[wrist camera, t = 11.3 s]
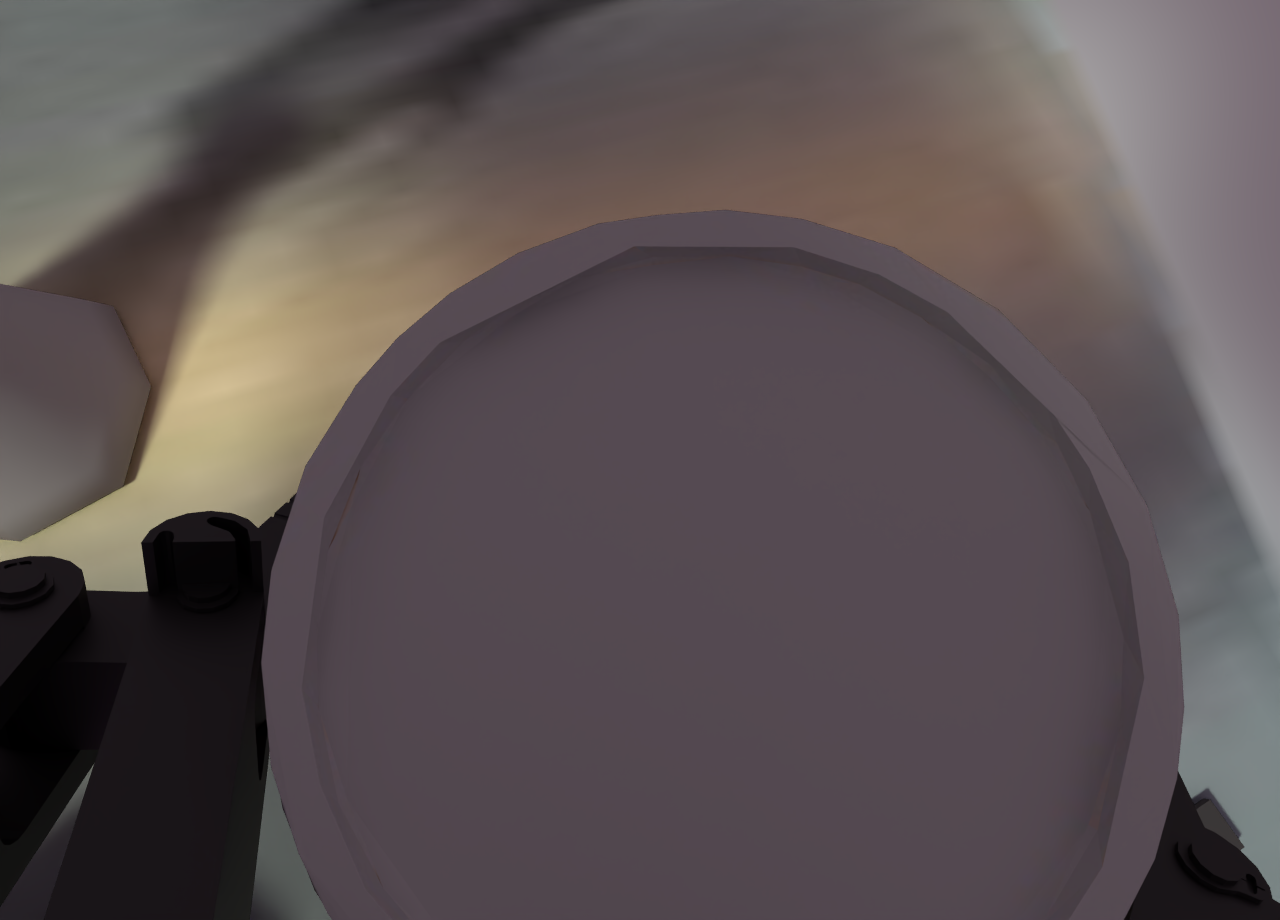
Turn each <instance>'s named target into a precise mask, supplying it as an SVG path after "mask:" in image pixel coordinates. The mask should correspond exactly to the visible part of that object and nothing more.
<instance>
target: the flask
mask: <svg viewBox="0 0 1280 920" xmlns="http://www.w3.org/2000/svg"><path fill="white" fill-rule="evenodd" d="M150 389H151V385H150V383H149V381H148V379H147V376H146V374H145V372H144V370H143V368H142V366H141V364H140V362H139V359H138V357H137V355H136V353H135V351H134V349H133V347H132V345H131V343H130V340H129V338H128V336H127V334H126V332H125V330H124V328H123V326H122V323H121V321H120V319H119V317H118V315H117V313H116V311H115V309H114V306H111V305H106V304H102V303H97V302H93V301H88V300H84V299H78V298H73V297H68V296H62V295H57V294H52V293H46V292H41V291H35V290H30V289H25V288H19V287H14V286H9V285H3V284H0V539H3V540H13V541H22V540H24V539H26V538H28V537H29V536H31V535H33V534H35V533H37V532H39V531H41V530H42V529H44V528H46V527H48V526H50V525H52V524H54V523H56V522H57V521H59V520H61V519H63V518H65V517H67V516H69V515H70V514H72V513H74V512H76V511H78V510H80V509H82V508H83V507H85V506H87V505H89V504H91V503H93V502H95V501H97V500H98V499H100V498H102V497H104V496H106V495H108V494H110V493H111V492H113V491H115V490H117V489H119V488H121V487H123V485H124V482H125V478H126V474H127V471H128V467H129V464H130V460H131V457H132V453H133V449H134V446H135V442H136V439H137V435H138V432H139V428H140V424H141V421H142V417H143V414H144V410H145V407H146V403H147V399H148V396H149V392H150Z"/></svg>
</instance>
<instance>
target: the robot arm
mask: <svg viewBox="0 0 1280 920" xmlns="http://www.w3.org/2000/svg"><path fill="white" fill-rule="evenodd" d="M296 494H297V493H296ZM296 494H295V495H294V496H293V497H292V498H291V499H290V502H289V503H287V502H286V503H285V504H284V505H283V506H282V507H281V508H280V509H279V510H277V511H276V512H275V515H274V517H270V518H269V519H268V520H267V521H265V522H264V523H263V524H262V525H261V526H260V527H259V528H257V527H256V526H255V525H254V524H253V523H252V522H251V521H250V520H248V519H246V518H243V517H241V516H238V515H235V514H232V513H225V512H215V511H206V512H197V513H188V514H184V515H181V516H178V517H175V518H172V519H168V520H166V521H164V522H163V523H161V524H160V525H158V526H156V527H155V528H153V529H151V530H150V531H149V533H148V534H147V535H146V537H145V538H144V540H143V541H142V542H141V544H142V551H143V558H144V565H145V573H146V580H147V587H148V592H120V591H89V590H86V586H85V581H84V576H83V572H82V570H81V569H80V568H79V567H77V566H76V565H75V564H73V563H72V562H71V561H67V560H63V559H60V558H56V557H52V556H28V557H23V558H17V559H12V560H7V561H3V562H0V907H1V905H2V903H3V902H4V900H5V899H6V897H7V896H8V894H9V893H10V891H11V890H12V888H13V887H14V885H15V884H16V882H17V881H18V879H19V877H20V876H21V874H22V873H23V871H24V870H25V868H26V867H27V865H28V864H29V862H30V861H31V859H32V858H33V856H34V854H35V853H36V851H37V850H38V848H39V847H40V845H41V844H42V842H43V841H44V839H45V838H46V836H47V835H48V833H49V831H50V830H51V828H52V827H53V825H54V824H55V822H56V821H57V819H58V818H59V816H60V815H61V813H62V812H63V810H64V808H65V807H66V805H67V804H68V802H69V801H70V799H71V798H72V796H73V795H74V793H75V792H76V790H77V789H78V787H79V786H80V784H81V782H82V781H83V779H84V778H85V776H86V775H87V773H88V772H89V770H90V769H91V767H92V766H93V764H94V767H93V770H92V773H91V776H90V779H89V782H88V785H87V788H86V791H85V794H84V797H83V801H82V804H81V807H80V810H79V813H78V816H77V819H76V822H75V825H74V828H73V831H72V835H71V838H70V841H69V844H68V847H67V850H66V853H65V856H64V859H63V862H62V865H61V868H60V872H59V875H58V878H57V881H56V884H55V887H54V890H53V893H52V896H51V899H50V902H49V906H48V909H47V912H46V915H45V918H44V920H250V913H251V904H252V896H253V887H254V879H255V870H256V862H257V853H258V845H259V836H260V828H261V819H262V811H263V802H264V794H265V785H266V777H267V768H268V760H269V751H270V749H269V738H268V728H267V719H266V707H265V696H264V686H263V675H262V665H261V661H262V652H263V643H264V634H265V624H266V615H267V606H268V597H269V588H270V579H271V570H272V567H273V564H274V561H275V558H276V555H277V552H278V549H279V546H280V543H281V539H282V536H283V533H284V530H285V527H286V524H287V521H288V518H289V515H290V512H291V509H292V506H293V503H294V500H295V497H296ZM1124 920H1280V903H1278V902H1277V901H1275V900H1273V899H1272V895H1271V890H1270V887H1269V885H1268V884H1267V882H1266V881H1265V879H1264V878H1263V876H1262V874H1261V873H1260V871H1259V870H1258V868H1257V867H1256V866H1255V865H1254V864H1253V863H1252V862H1251V861H1250V860H1249V859H1248V858H1247V857H1246V856H1245V855H1244V854H1243V853H1242V852H1241V851H1240V850H1239V849H1238V848H1237V847H1236V846H1234V845H1233V844H1231V843H1230V842H1228V841H1227V840H1225V839H1224V838H1223V837H1221V836H1220V835H1218V834H1217V833H1215V832H1213V831H1211V830H1209V829H1207V828H1205V827H1204V825H1203V823H1202V821H1201V818H1200V816H1199V814H1198V812H1197V810H1196V808H1195V806H1194V804H1193V802H1192V799H1191V797H1190V795H1189V793H1188V791H1187V789H1186V787H1185V785H1184V783H1183V780H1182V778H1181V776H1180V774H1179V772H1178V774H1177V780H1176V784H1175V788H1174V791H1173V795H1172V799H1171V802H1170V806H1169V809H1168V813H1167V817H1166V820H1165V824H1164V828H1163V831H1162V835H1161V839H1160V842H1159V846H1158V850H1157V853H1156V857H1155V860H1154V862H1153V864H1152V866H1151V868H1150V870H1149V872H1148V874H1147V876H1146V878H1145V879H1144V881H1143V883H1142V885H1141V887H1140V889H1139V891H1138V893H1137V895H1136V897H1135V899H1134V901H1133V903H1132V905H1131V907H1130V909H1129V911H1128V913H1127V914H1126V916H1125V918H1124Z"/></svg>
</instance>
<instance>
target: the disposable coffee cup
mask: <svg viewBox="0 0 1280 920" xmlns="http://www.w3.org/2000/svg"><path fill="white" fill-rule="evenodd" d="M261 665H262V675H263V686H264V696H265V707H266V719H267V728H268V738H269V749H270V759H271V768H272V771H273V774H274V777H275V781H276V784H277V787H278V790H279V793H280V796H281V802H282V807H283V810H284V813H285V815H286V818H287V821H288V823H289V826H290V828H291V831H292V834H293V837H294V840H295V843H296V846H297V850H298V853H299V855H300V857H301V859H302V861H303V863H304V865H305V867H306V869H307V872H308V874H309V877H310V879H311V882H312V884H313V887H314V890H315V891H316V893H317V895H318V896H319V898H320V899H321V901H322V903H323V905H324V907H325V909H326V911H327V913H328V914H329V916H330V917H331V919H332V920H1124V918H1125V916H1126V914H1127V913H1128V911H1129V909H1130V907H1131V905H1132V903H1133V901H1134V899H1135V897H1136V895H1137V893H1138V891H1139V889H1140V887H1141V885H1142V883H1143V881H1144V879H1145V878H1146V876H1147V874H1148V872H1149V870H1150V868H1151V866H1152V864H1153V862H1154V860H1155V857H1156V853H1157V850H1158V846H1159V842H1160V839H1161V835H1162V831H1163V828H1164V824H1165V820H1166V817H1167V813H1168V809H1169V806H1170V802H1171V799H1172V795H1173V791H1174V788H1175V784H1176V780H1177V774H1178V763H1179V753H1180V743H1181V733H1182V723H1183V713H1184V697H1183V681H1182V664H1181V647H1180V631H1179V614H1178V611H1177V608H1176V604H1175V601H1174V597H1173V594H1172V590H1171V587H1170V583H1169V580H1168V576H1167V573H1166V569H1165V566H1164V562H1163V559H1162V556H1161V552H1160V549H1159V545H1158V542H1157V538H1156V535H1155V531H1154V528H1153V524H1152V521H1151V517H1150V514H1149V510H1148V507H1147V504H1146V503H1145V501H1144V499H1143V497H1142V496H1141V494H1140V492H1139V490H1138V489H1137V487H1136V485H1135V483H1134V481H1133V480H1132V478H1131V476H1130V474H1129V473H1128V471H1127V469H1126V467H1125V466H1124V464H1123V462H1122V460H1121V459H1120V457H1119V455H1118V453H1117V452H1116V450H1115V448H1114V446H1113V445H1112V443H1111V441H1110V439H1109V438H1108V436H1107V434H1106V432H1105V431H1104V429H1103V427H1102V425H1101V424H1100V422H1099V420H1098V418H1097V417H1096V415H1095V413H1094V411H1093V410H1092V408H1091V406H1090V404H1089V403H1088V401H1087V399H1086V398H1085V397H1084V396H1083V395H1082V394H1081V393H1080V392H1079V391H1078V390H1077V389H1076V388H1075V387H1074V386H1073V385H1072V384H1071V383H1070V382H1069V381H1068V380H1067V379H1066V378H1065V377H1064V376H1063V375H1062V374H1061V373H1060V372H1059V371H1058V370H1057V369H1056V368H1055V367H1054V366H1053V365H1052V364H1051V363H1050V362H1049V361H1048V360H1047V359H1046V358H1045V357H1044V356H1043V355H1042V354H1041V353H1040V352H1039V351H1038V350H1037V348H1036V347H1035V346H1034V345H1033V344H1032V343H1031V342H1030V341H1029V340H1028V339H1027V338H1026V337H1025V336H1024V335H1023V334H1022V333H1021V332H1020V331H1019V330H1018V329H1017V328H1016V327H1015V326H1014V325H1013V324H1012V323H1011V322H1010V321H1009V320H1008V319H1007V318H1006V317H1005V316H1004V315H1003V314H1002V313H1001V312H1000V311H999V310H998V309H996V308H995V307H993V306H991V305H990V304H988V303H986V302H985V301H983V300H981V299H980V298H978V297H976V296H975V295H973V294H971V293H970V292H968V291H966V290H965V289H963V288H961V287H960V286H958V285H956V284H955V283H953V282H951V281H950V280H948V279H946V278H945V277H943V276H941V275H940V274H938V273H936V272H934V271H933V270H931V269H929V268H928V267H926V266H924V265H923V264H921V263H919V262H918V261H916V260H914V259H913V258H911V257H909V256H908V255H906V254H904V253H903V252H901V251H899V250H898V249H896V248H894V247H891V246H888V245H885V244H881V243H878V242H875V241H872V240H868V239H865V238H862V237H859V236H856V235H852V234H849V233H846V232H843V231H839V230H836V229H833V228H830V227H826V226H823V225H820V224H817V223H814V222H810V221H807V220H804V219H798V218H790V217H781V216H773V215H764V214H756V213H748V212H739V211H731V210H717V211H704V212H691V213H678V214H666V215H655V216H648V217H641V218H634V219H627V220H620V221H613V222H607V223H600V224H596V225H593V226H591V227H588V228H585V229H582V230H580V231H577V232H574V233H571V234H569V235H566V236H563V237H561V238H558V239H555V240H552V241H550V242H547V243H544V244H542V245H539V246H536V247H533V248H531V249H528V250H525V251H522V252H520V253H517V254H516V255H514V256H512V257H511V258H509V259H507V260H505V261H504V262H502V263H500V264H499V265H497V266H495V267H494V268H492V269H490V270H489V271H487V272H485V273H484V274H482V275H480V276H478V277H477V278H475V279H473V280H472V281H470V282H468V283H467V284H465V285H463V286H462V287H460V288H458V289H457V290H455V291H453V292H451V293H450V294H449V295H447V296H446V297H445V298H444V299H443V300H442V301H440V302H439V303H438V304H437V305H436V306H434V307H433V308H432V309H431V310H430V311H429V312H427V313H426V314H425V315H424V316H423V317H422V318H420V319H419V320H418V321H417V322H416V323H415V324H413V325H412V326H411V327H410V328H409V329H407V330H406V331H405V332H404V333H403V334H402V335H400V336H399V337H398V338H397V339H396V340H395V341H394V343H393V344H392V345H391V346H390V347H389V348H388V349H387V351H386V352H385V353H384V354H383V355H382V356H381V357H380V359H379V360H378V361H377V362H376V363H375V364H374V365H373V367H372V368H371V369H370V370H369V371H368V372H367V373H366V375H365V376H364V377H363V378H362V379H361V380H360V381H359V383H358V384H357V385H356V386H355V388H354V389H353V391H352V393H351V394H350V396H349V397H348V399H347V401H346V402H345V404H344V405H343V407H342V409H341V410H340V412H339V413H338V415H337V417H336V418H335V420H334V421H333V423H332V425H331V426H330V428H329V429H328V431H327V433H326V434H325V436H324V437H323V439H322V441H321V442H320V444H319V445H318V447H317V449H316V450H315V452H314V453H313V455H312V457H311V458H310V460H309V461H308V463H307V464H306V466H305V469H304V472H303V475H302V478H301V481H300V484H299V487H298V491H297V494H296V497H295V500H294V503H293V506H292V509H291V512H290V515H289V518H288V521H287V524H286V527H285V530H284V533H283V536H282V539H281V543H280V546H279V549H278V552H277V555H276V558H275V561H274V564H273V567H272V570H271V579H270V588H269V597H268V606H267V615H266V624H265V634H264V643H263V652H262V661H261Z"/></svg>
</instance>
